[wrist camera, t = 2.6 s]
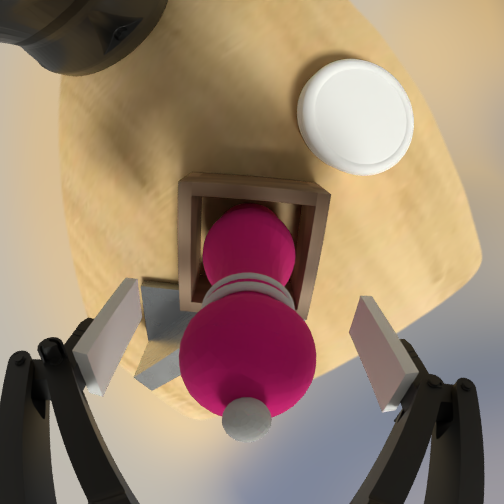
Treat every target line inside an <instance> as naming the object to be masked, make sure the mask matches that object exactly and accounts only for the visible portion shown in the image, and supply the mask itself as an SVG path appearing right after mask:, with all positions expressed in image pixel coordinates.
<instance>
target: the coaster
mask: <svg viewBox="0 0 504 504" xmlns="http://www.w3.org/2000/svg"><path fill="white" fill-rule="evenodd" d="M297 120H298V125H299V129H300V132H301V135H302V137H303V139H304V141H305V143H306V145H307V146H308V147H309V149H310V150H311V151H312V152H313V153H314V155H315V156H316V157H318V158H319V159H320V160H321V161H323V162H324V163H326V164H327V165H329V166H331V167H334V168H336V169H338V170H340V171H343V172H346V173H349V174H353V175H360V176H368V175H375V174H378V173H381V172H384V171H386V170H388V169H390V168H391V167H393V166H394V165H395V164H396V163H397V162H399V161H400V159H401V158H402V157H403V156H404V154H405V153H406V151H407V149H408V147H409V145H410V143H411V139H412V135H413V129H414V118H413V111H412V106H411V103H410V100H409V98H408V96H407V94H406V92H405V90H404V89H403V87H402V86H401V84H400V83H399V82H398V80H397V79H396V78H395V77H394V76H393V75H391V74H390V73H389V72H388V71H387V70H385V69H383V68H382V67H380V66H378V65H376V64H374V63H371V62H368V61H364V60H360V59H342V60H337V61H334V62H331V63H329V64H327V65H326V66H324V67H323V68H321V69H320V70H319V71H318V72H317V73H315V74H314V75H313V76H312V77H311V78H310V79H309V80H308V81H307V83H306V84H305V86H304V87H303V89H302V91H301V94H300V97H299V100H298V106H297Z"/></svg>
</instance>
